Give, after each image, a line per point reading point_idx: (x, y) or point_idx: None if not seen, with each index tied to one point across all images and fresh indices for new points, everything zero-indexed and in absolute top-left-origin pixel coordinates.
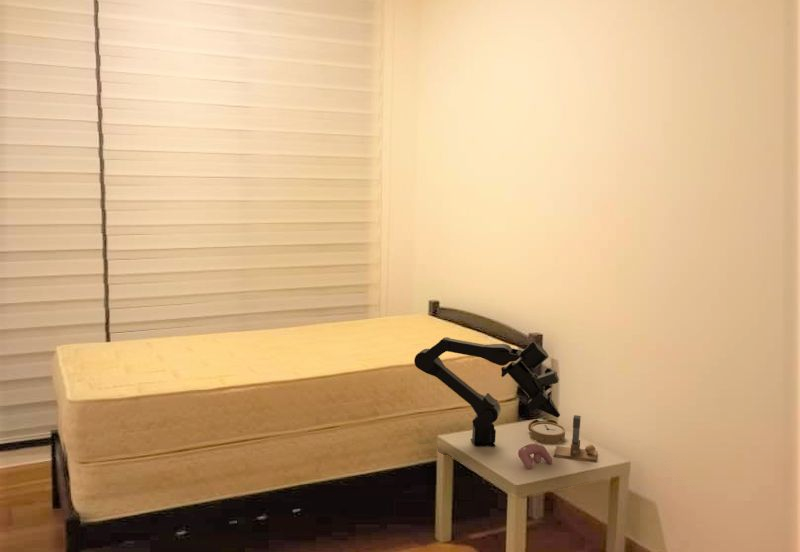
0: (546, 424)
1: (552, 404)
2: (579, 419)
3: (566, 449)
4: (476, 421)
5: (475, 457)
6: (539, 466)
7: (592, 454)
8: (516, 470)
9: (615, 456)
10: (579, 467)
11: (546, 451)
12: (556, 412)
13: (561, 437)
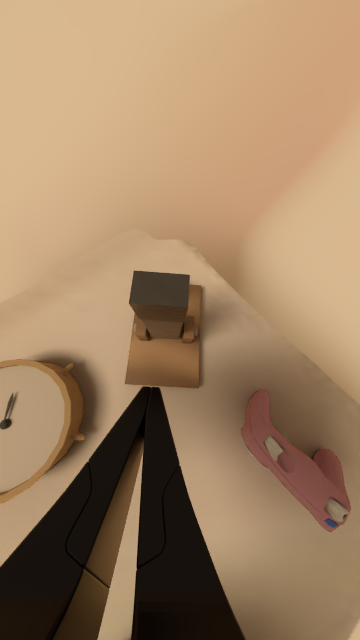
0: None
1: (171, 506)
2: (189, 279)
3: (149, 354)
4: None
5: None
6: (285, 423)
7: None
8: (347, 492)
9: (149, 250)
10: (248, 323)
11: (268, 415)
12: (165, 417)
13: (59, 370)
